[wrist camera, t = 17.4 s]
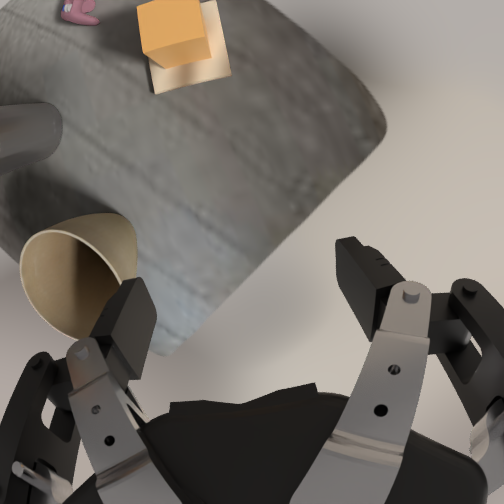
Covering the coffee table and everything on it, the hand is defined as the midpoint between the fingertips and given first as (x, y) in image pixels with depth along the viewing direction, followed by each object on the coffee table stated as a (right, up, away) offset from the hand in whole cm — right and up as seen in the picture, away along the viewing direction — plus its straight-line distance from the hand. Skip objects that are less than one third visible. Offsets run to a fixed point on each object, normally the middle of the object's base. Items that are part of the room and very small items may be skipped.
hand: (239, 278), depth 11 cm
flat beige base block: (-8, +28, +17) cm, 34 cm away
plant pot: (-21, +4, +28) cm, 35 cm away
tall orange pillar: (-8, +27, +16) cm, 33 cm away
